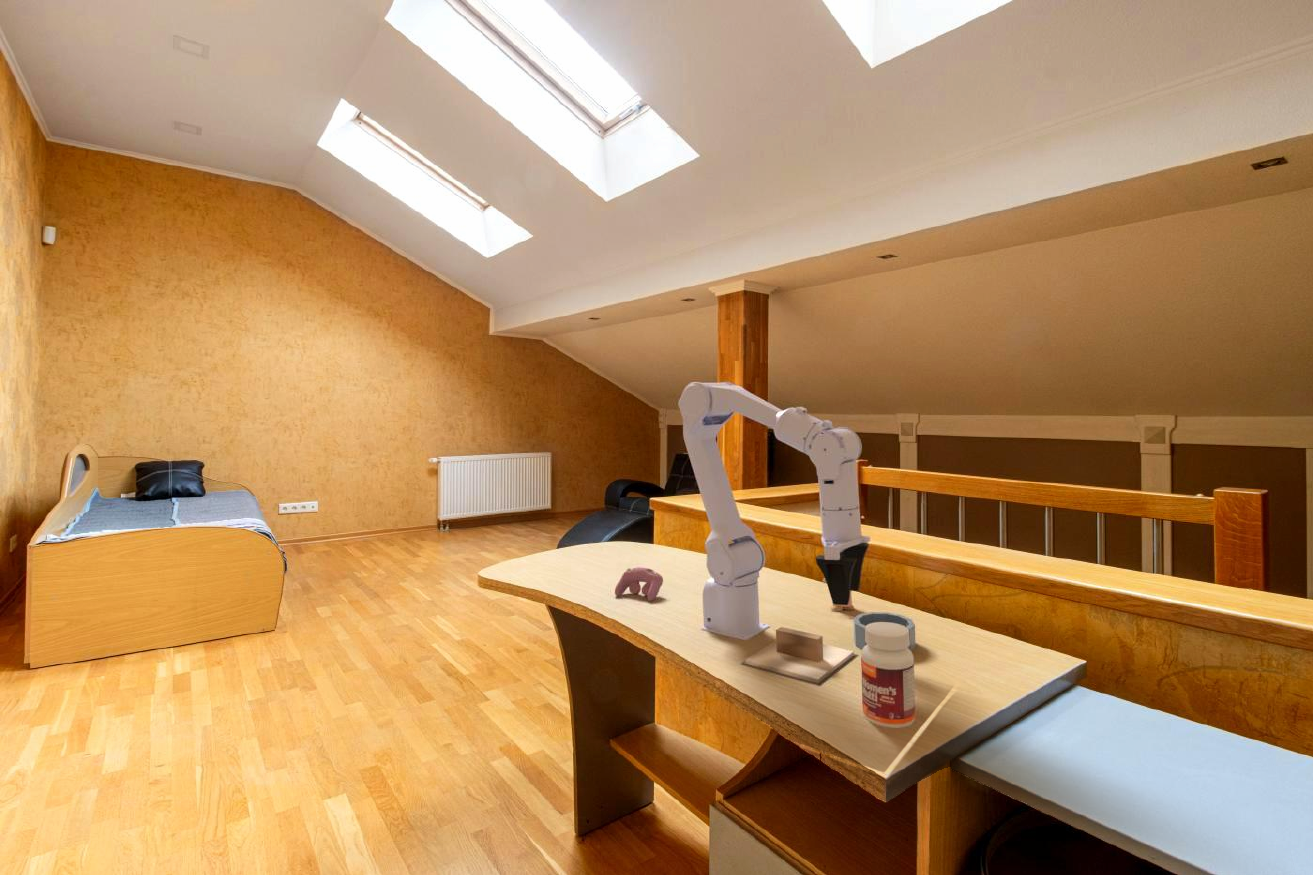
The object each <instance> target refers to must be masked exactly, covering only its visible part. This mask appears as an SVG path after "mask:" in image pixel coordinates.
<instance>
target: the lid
mask: <svg viewBox="0 0 1313 875" xmlns="http://www.w3.org/2000/svg"><path fill="white" fill-rule="evenodd" d="M823 639H824V638H823V635H819V634H816V633H812V632H806V631H803V630H802V631H801V630H796V629H792V628H788V627H784V626H780V627H778V628H777V629H775V640H774V641H773V642H771V643H770V644H768V645H766V646H765V647H763V648H761V649H760V650H758V651H757V652H754V653H753V654H751V655H750V656H749V657H746V658H745V659H744V661H745V664H749V665H752V666H756V667H760V668H763V669H767V670H770V671H774V672H778V673H781V674H785V675H789V676H792V677H796V678H799V679H803V680H807V681H810V682H814V683H819V682H821V681H822V680H823V679H824V678H826V677H827V676H828V675H829V674H831V673H832V672H833V671H835V670H836V669H837V668H838V667H840V666H841V665H842V664H843V663H845V662H846V661H847V660H848V659H850V658H851V657H852V656H854V654H855V651H853V650H849V649H845V648H840V647H838V646H837V647H836V646H832V645H828V644H823V642H824V640H823Z"/></svg>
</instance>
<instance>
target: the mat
mask: <svg viewBox="0 0 1313 875" xmlns="http://www.w3.org/2000/svg"><path fill="white" fill-rule="evenodd" d="M858 656H859V654H855V653H854V656H852V657H851V658H850V659H848V660H847V661H846V662H845V663H843V664H842V665H841V666H840V667H838V668H837V669H836V670H835V671H833V672H832V673H831V674H829V675H828V676H827V677H826V678H824V679H823V680H822V681H821V682H819V683H814V682H810V681H807V680H803V679H799V678H796V677H792V676H789V675H785V674H781V673H778V672H774V671H770V670H767V669H763V668H760V667H756V666H752V665H749V664H745V660H744V661H743V662H741V663H740V665H742V666H746V667H750V668H752V669H757V670H760V671H763V672H768V673H771V674H775V675H778V676H783V677H786V678H789V679H793V680H795V681H800V682H803V683H807V684H810V685H814V686H817V687H820V686H822V685H823V684H824V683H826V682H827V681H828V680H829V679H830V678H832V677H833V676H834V675H836V674H838V672H839V671H840V670H842V669H843V668H844V667H845V666H847V665H848V664H850V663H851V662H852V661H853V660H854V659H855V658H857V657H858Z"/></svg>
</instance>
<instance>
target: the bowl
mask: <svg viewBox="0 0 1313 875" xmlns="http://www.w3.org/2000/svg"><path fill="white" fill-rule="evenodd" d="M852 622H853V623H852V624H853V642H854V645H855V647H857V648H859V649H860V650H862V649H863V647H864V646H866V645H867V643H866V642H865V627H866V625H868V624H870V623H875V622H890V623H896V624H900V625H903V626H905V627H906V628H908V630H909V640H910V645H909V647H907V648H908V649H909V650H910V651H911V652H912V651H913V652H914V650H915V649H916V648H917V647H916V624H915V622H914V621H913V619H911V618H909V617H907V616H906V615H905V616H904V615H903V614H898V613H893V612H883V611H882V612H881V611H879V612H878V611H876V612H875V611H870V612H865V613H859V614H858V615H856V616H855V617H853V618H852ZM913 652H912V653H913Z"/></svg>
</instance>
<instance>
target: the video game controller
mask: <svg viewBox="0 0 1313 875" xmlns="http://www.w3.org/2000/svg"><path fill="white" fill-rule="evenodd" d="M640 583H645V584H643V586H642V587H641V584H640ZM663 583H664V578H663V576H662V575H661V574H660V573H658V572H657V571H655V570H653V569H651V568H647V567H640V566H639V567H638V566H637V567H635V568H634V567H633V568H627V569H626V571H624V572H623V574H622V576H620V579H619V581H618V583H617V584H616V586H615V589H614V594H615V596H616V597H617V598H618V597H621V596H622V595H623V594H624V593H625V592H626V591H627V589H628V588H629V590H628V591H629V592H630V593H631V594H633V595H638V594H640V592H641V594H642V595H643V596H645V597H646V598H647V600H648V602H653V601H654V600H656V598H657V596H658V594H659V592H660V589H661V587H662V586H663Z"/></svg>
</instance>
